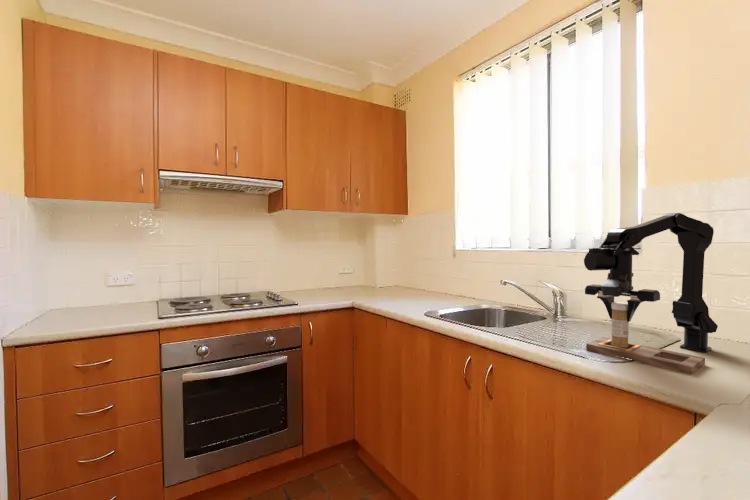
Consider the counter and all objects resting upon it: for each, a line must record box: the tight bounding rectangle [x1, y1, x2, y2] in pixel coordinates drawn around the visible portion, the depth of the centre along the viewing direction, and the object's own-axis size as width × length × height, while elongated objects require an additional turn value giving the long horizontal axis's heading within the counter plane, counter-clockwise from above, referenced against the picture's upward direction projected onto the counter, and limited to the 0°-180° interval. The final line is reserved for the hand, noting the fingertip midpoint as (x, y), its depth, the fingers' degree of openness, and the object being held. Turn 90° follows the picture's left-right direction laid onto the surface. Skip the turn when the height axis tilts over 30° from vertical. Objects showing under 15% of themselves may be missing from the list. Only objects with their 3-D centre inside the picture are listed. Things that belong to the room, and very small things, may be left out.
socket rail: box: [585, 337, 706, 375], centre depth 110 cm, size 12×26×2 cm, turn 36°
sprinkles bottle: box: [610, 301, 630, 348], centre depth 115 cm, size 5×5×14 cm
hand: (620, 320), depth 115 cm, fingers closed on sprinkles bottle, 4 cm apart
